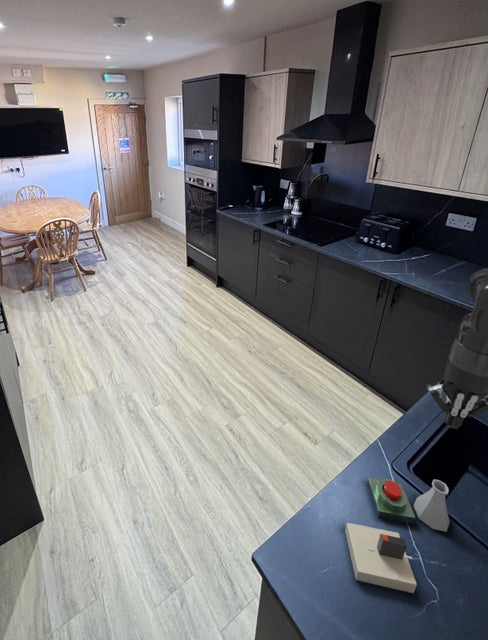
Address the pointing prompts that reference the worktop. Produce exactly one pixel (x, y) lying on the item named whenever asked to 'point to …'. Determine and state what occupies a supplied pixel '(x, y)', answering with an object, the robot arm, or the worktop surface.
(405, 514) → the box
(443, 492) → the flask
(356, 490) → the worktop surface
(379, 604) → the worktop surface
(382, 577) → the panel
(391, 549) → the knob
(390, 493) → the power button
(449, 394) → the robot arm
